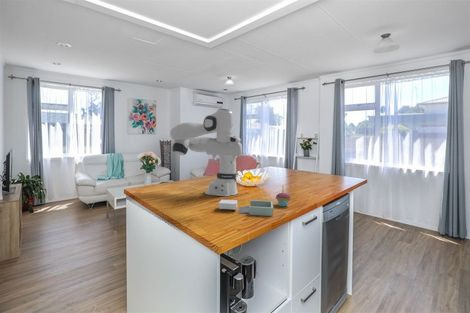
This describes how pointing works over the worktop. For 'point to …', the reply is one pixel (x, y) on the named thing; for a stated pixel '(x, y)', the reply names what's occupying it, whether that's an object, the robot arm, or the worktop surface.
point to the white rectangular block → (228, 204)
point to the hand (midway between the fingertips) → (223, 163)
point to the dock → (258, 208)
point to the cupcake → (283, 198)
